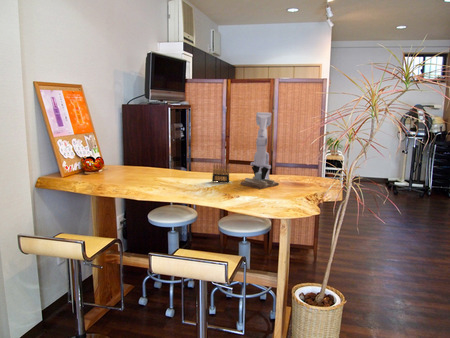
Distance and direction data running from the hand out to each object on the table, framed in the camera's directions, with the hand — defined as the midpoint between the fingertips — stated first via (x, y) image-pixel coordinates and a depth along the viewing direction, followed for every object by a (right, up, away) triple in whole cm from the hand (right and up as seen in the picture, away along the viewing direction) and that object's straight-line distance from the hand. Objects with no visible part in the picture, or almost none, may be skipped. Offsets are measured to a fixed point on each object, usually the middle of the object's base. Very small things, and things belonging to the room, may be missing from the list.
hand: (259, 178), depth 231 cm
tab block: (0, -2, 0) cm, 2 cm away
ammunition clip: (-24, -3, +4) cm, 25 cm away
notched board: (0, -4, +1) cm, 4 cm away
